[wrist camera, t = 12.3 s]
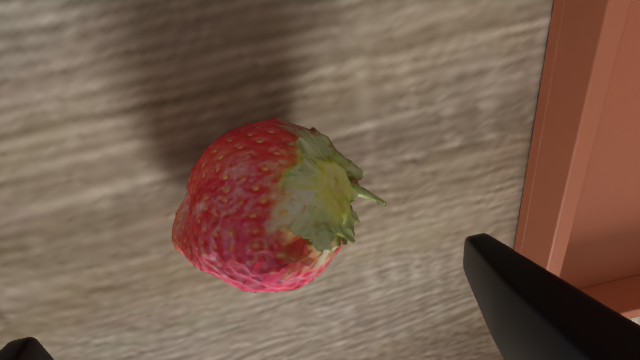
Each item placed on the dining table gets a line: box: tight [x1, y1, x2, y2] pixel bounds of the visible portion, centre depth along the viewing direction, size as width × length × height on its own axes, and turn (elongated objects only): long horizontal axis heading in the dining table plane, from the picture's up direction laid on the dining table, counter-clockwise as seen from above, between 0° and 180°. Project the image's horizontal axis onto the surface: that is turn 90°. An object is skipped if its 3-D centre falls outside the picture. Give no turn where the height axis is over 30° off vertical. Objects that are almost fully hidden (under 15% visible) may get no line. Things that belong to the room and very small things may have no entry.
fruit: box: [172, 118, 386, 293], centre depth 11 cm, size 4×6×5 cm
